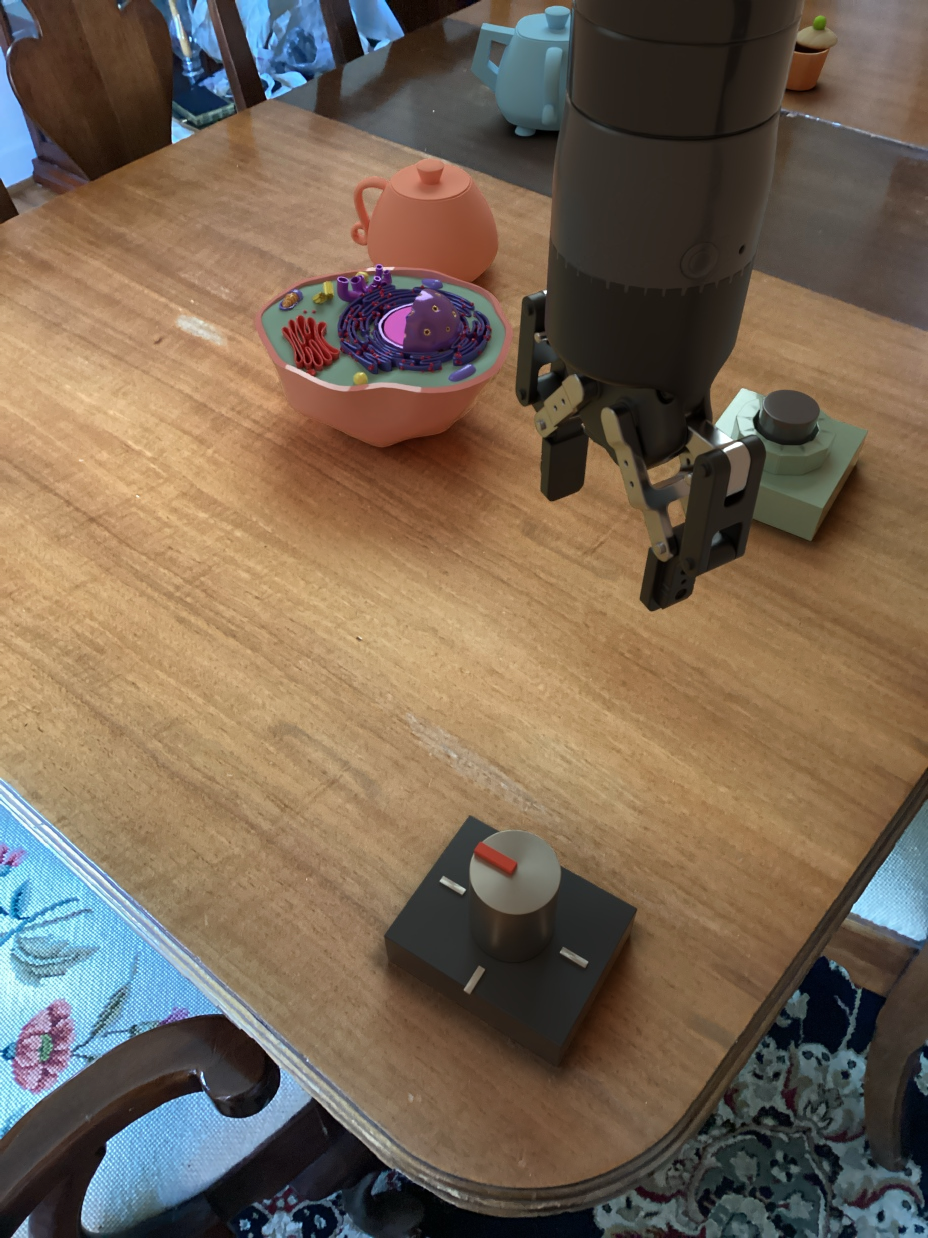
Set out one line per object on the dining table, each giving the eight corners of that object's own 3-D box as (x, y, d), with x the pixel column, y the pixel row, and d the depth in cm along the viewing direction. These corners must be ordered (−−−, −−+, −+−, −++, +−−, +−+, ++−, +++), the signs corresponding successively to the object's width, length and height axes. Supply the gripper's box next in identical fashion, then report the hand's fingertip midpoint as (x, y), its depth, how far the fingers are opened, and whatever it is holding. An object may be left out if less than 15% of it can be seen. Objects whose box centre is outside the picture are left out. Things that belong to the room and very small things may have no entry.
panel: (632, 929, 52) (640, 903, 50) (554, 1072, 48) (559, 1050, 45) (471, 838, 56) (471, 810, 54) (385, 962, 51) (380, 937, 49)
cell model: (328, 332, 89) (313, 210, 80) (540, 383, 83) (548, 258, 75) (228, 446, 78) (198, 320, 70) (463, 512, 73) (462, 384, 65)
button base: (856, 463, 77) (875, 410, 73) (811, 541, 71) (830, 489, 67) (733, 420, 80) (746, 367, 76) (682, 491, 75) (693, 438, 71)
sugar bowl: (484, 311, 91) (485, 202, 83) (336, 295, 92) (323, 187, 85) (507, 243, 98) (510, 138, 91) (370, 230, 100) (362, 125, 92)
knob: (569, 909, 50) (578, 854, 46) (527, 979, 48) (532, 929, 43) (497, 867, 51) (499, 811, 47) (453, 934, 49) (451, 881, 45)
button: (820, 423, 72) (828, 400, 71) (801, 453, 70) (808, 430, 69) (768, 405, 74) (774, 382, 72) (747, 434, 72) (753, 411, 70)
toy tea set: (610, 82, 123) (619, -5, 116) (625, 36, 133) (634, -48, 126) (827, 100, 120) (850, 10, 112) (826, 51, 129) (847, -35, 122)
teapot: (464, 150, 112) (463, 34, 103) (477, 89, 122) (477, -20, 113) (643, 157, 110) (659, 40, 101) (641, 95, 121) (654, -16, 112)
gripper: (873, 289, 33) (766, 611, 45) (625, 128, 41) (591, 438, 54) (692, 354, 31) (630, 675, 43) (467, 170, 39) (469, 484, 51)
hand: (609, 543), depth 48 cm, fingers open, 8 cm apart
